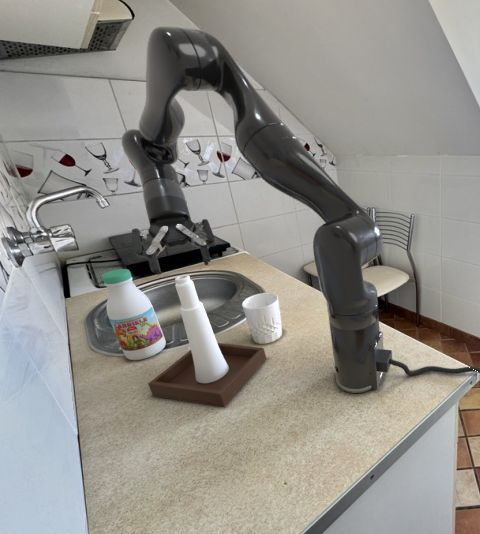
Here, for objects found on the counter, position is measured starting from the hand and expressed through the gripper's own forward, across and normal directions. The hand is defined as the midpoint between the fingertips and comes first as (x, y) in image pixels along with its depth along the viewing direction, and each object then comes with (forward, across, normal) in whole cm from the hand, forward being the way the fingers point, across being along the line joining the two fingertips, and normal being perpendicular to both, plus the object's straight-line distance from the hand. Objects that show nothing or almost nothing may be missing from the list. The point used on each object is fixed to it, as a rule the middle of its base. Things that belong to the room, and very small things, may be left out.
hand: (183, 268), depth 67 cm
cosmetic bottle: (+22, 0, +6) cm, 23 cm away
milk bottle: (+9, -12, +20) cm, 25 cm away
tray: (+23, 0, +6) cm, 24 cm away
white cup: (+17, +13, +13) cm, 25 cm away
